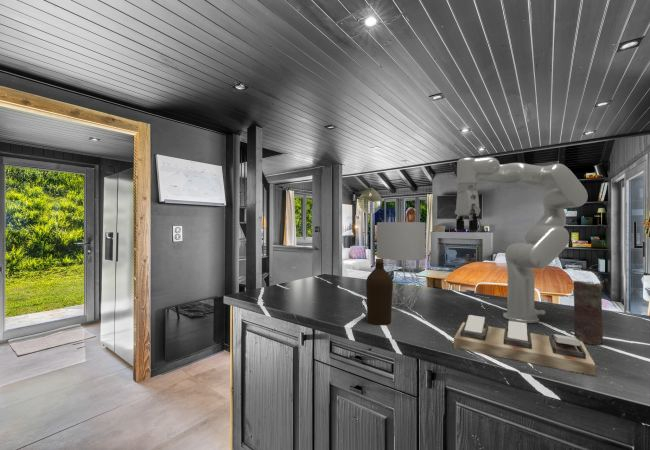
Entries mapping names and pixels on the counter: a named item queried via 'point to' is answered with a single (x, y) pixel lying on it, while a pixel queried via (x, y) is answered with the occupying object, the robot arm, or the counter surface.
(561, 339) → the rocker right
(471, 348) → the switch panel
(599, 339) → the candle
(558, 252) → the robot arm
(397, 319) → the counter surface
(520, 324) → the rocker middle
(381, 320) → the olive oil
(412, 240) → the table lamp
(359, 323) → the counter surface
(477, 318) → the rocker left
